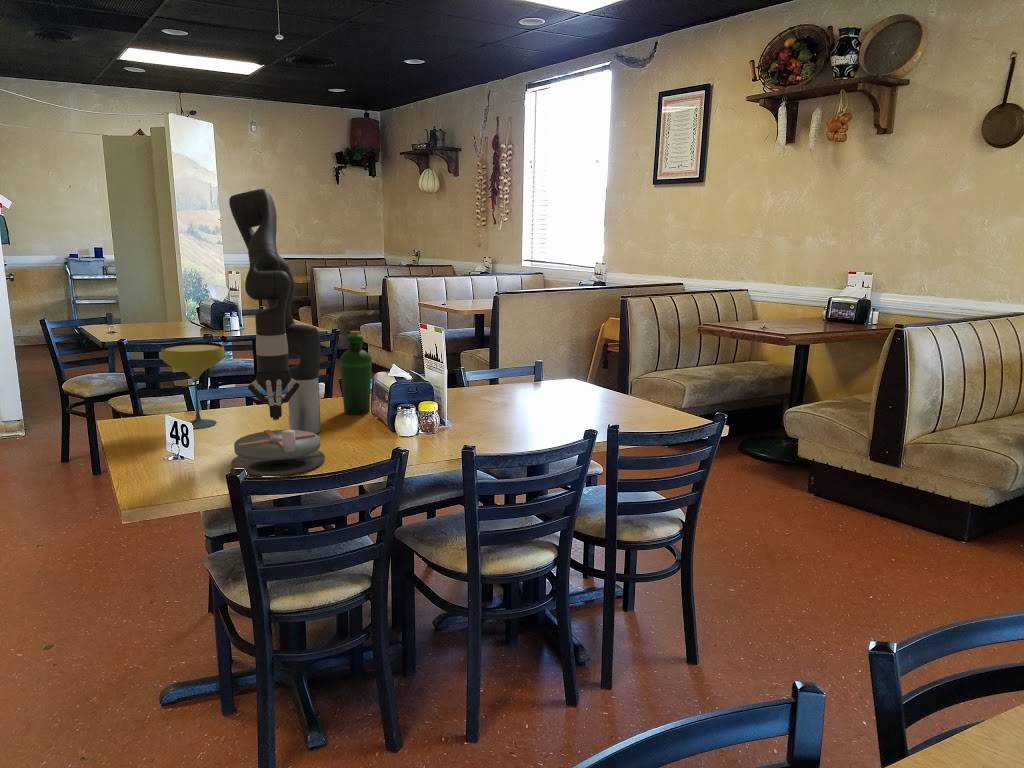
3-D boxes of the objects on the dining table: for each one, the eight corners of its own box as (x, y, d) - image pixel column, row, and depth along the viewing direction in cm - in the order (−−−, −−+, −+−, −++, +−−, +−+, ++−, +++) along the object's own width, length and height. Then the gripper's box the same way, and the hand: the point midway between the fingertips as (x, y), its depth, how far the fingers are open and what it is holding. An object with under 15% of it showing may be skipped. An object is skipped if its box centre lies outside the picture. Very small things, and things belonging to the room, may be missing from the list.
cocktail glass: (239, 424, 234) (234, 347, 228) (183, 435, 220) (176, 353, 215) (212, 414, 245) (207, 340, 240) (157, 424, 232) (150, 346, 227)
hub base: (240, 450, 207) (239, 437, 206) (327, 448, 211) (327, 434, 210) (222, 479, 184) (221, 464, 183) (321, 475, 188) (320, 460, 187)
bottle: (370, 407, 258) (368, 328, 252) (374, 415, 249) (373, 333, 243) (339, 409, 255) (337, 329, 249) (342, 417, 245) (340, 334, 239)
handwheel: (225, 443, 199) (223, 419, 198) (304, 431, 212) (303, 409, 210) (247, 465, 182) (245, 439, 180) (332, 451, 194) (331, 427, 192)
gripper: (242, 355, 176) (247, 424, 180) (299, 353, 180) (303, 421, 184) (245, 350, 184) (249, 416, 187) (300, 348, 187) (303, 413, 191)
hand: (276, 419), depth 186 cm, fingers closed
